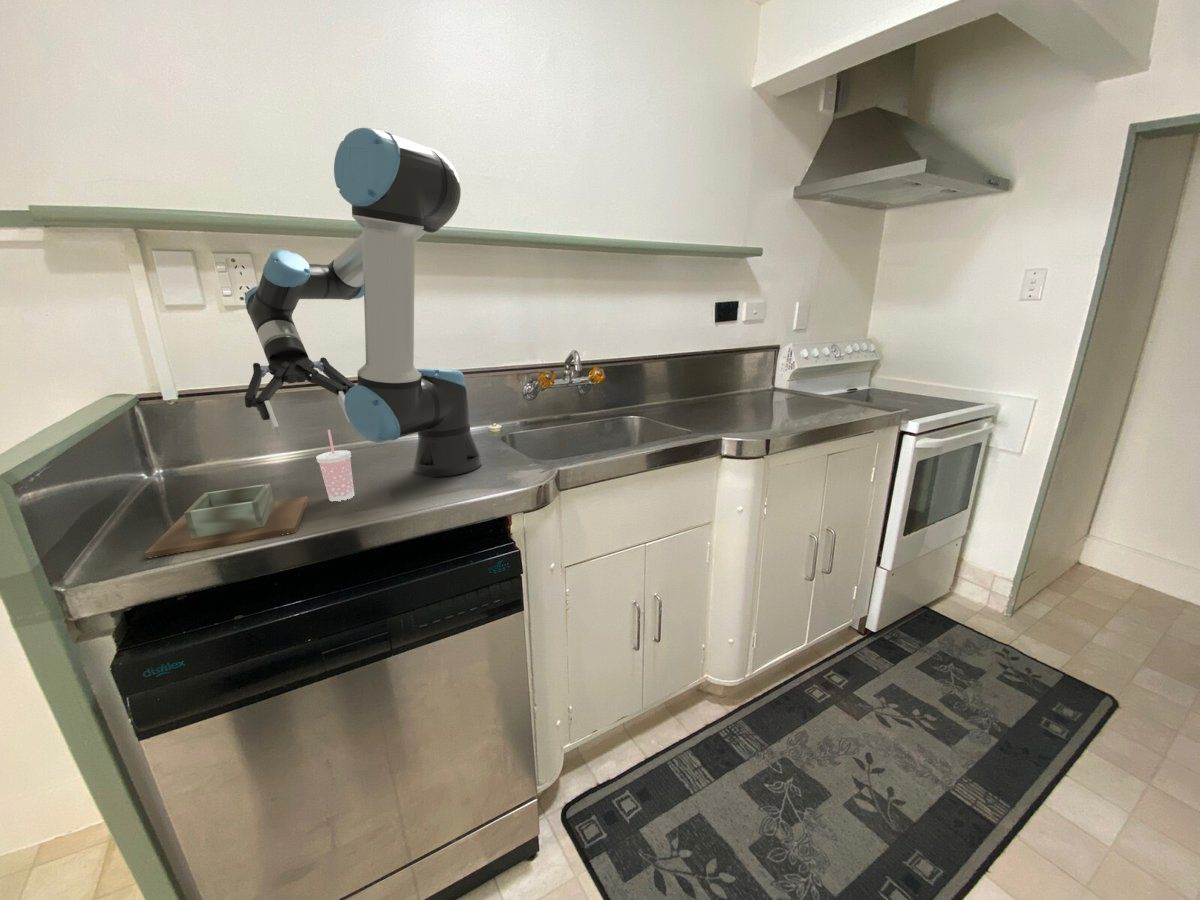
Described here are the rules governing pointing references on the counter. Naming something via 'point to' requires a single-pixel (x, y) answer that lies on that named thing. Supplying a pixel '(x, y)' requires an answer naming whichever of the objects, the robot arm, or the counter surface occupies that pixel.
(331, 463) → the beverage cup
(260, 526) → the cup holder
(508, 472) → the counter surface
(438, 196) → the robot arm
